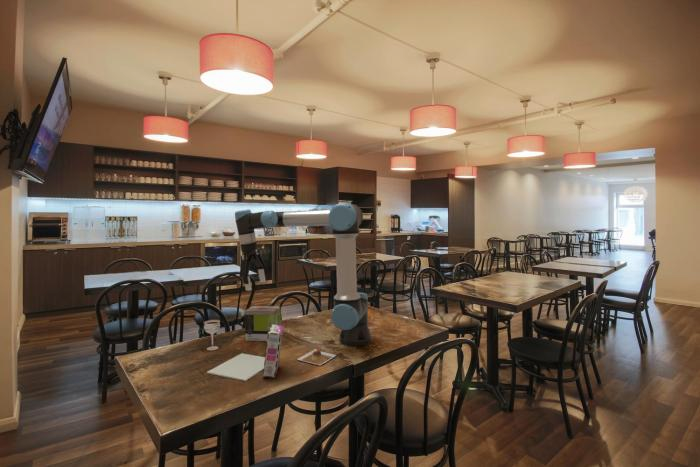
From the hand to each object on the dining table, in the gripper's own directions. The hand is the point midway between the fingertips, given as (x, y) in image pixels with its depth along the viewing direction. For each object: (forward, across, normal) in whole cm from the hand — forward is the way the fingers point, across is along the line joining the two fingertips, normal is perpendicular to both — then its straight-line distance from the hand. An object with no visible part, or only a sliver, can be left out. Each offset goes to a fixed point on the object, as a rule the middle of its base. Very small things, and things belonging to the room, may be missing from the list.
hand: (256, 286), depth 171 cm
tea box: (+26, 0, -1) cm, 26 cm away
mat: (+24, +33, +8) cm, 41 cm away
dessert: (+29, +18, +33) cm, 47 cm away
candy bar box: (+25, +34, +21) cm, 47 cm away
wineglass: (+22, +18, -16) cm, 33 cm away
